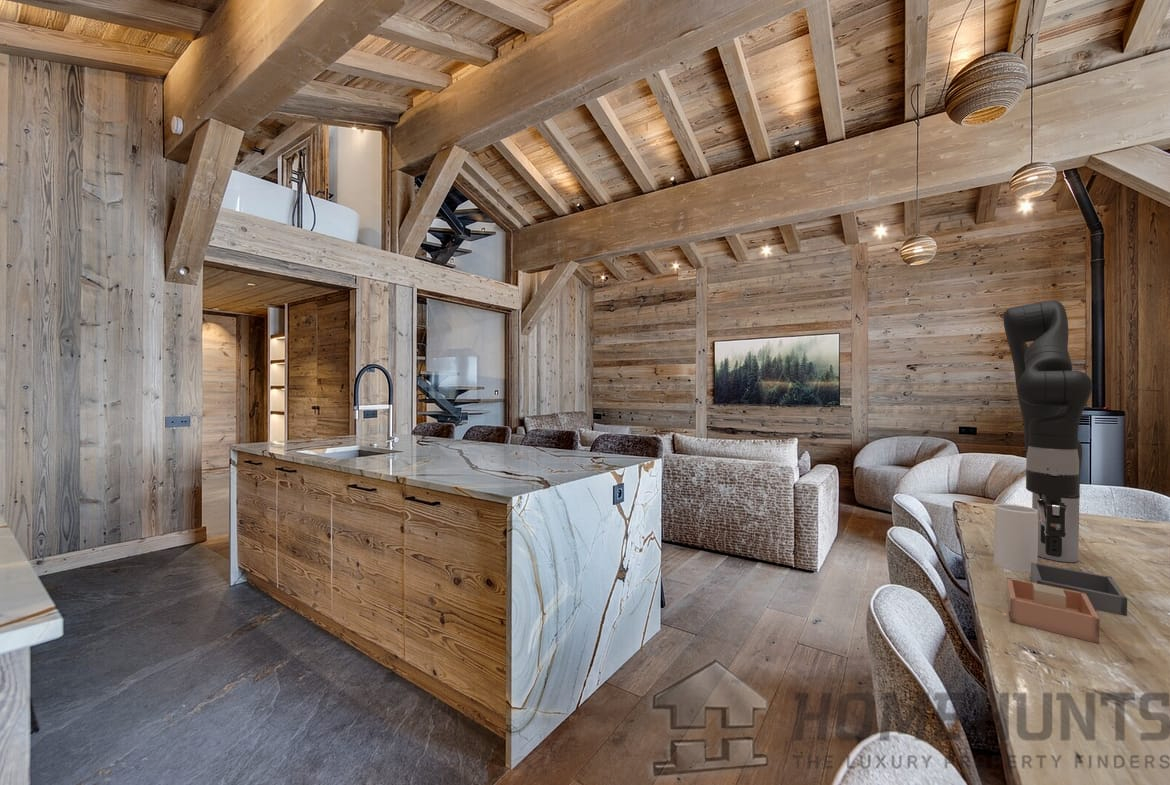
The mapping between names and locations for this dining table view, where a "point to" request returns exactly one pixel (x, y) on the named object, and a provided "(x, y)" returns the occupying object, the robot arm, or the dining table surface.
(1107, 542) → the dining table surface
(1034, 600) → the block
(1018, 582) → the bin
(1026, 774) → the dining table surface
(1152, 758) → the dining table surface
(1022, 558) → the cup
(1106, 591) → the bin
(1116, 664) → the dining table surface
